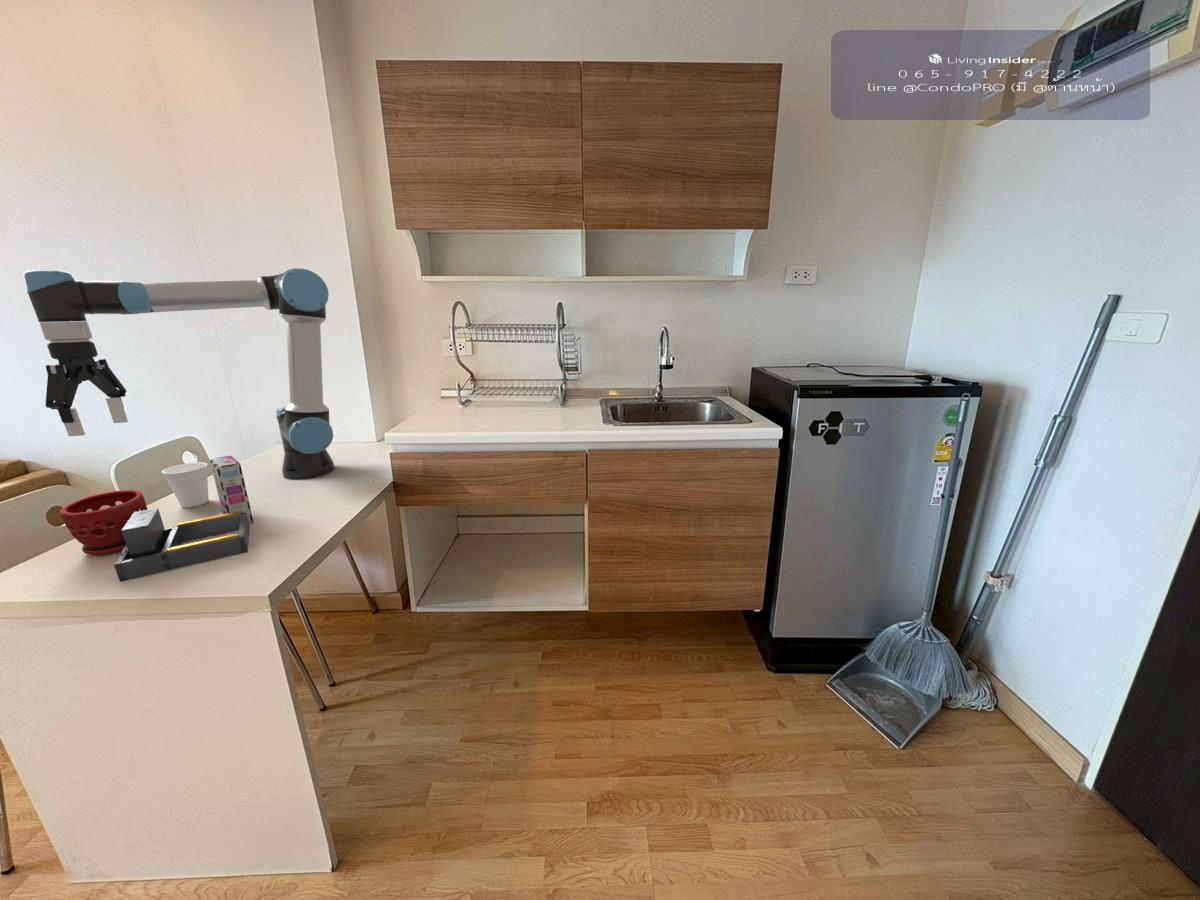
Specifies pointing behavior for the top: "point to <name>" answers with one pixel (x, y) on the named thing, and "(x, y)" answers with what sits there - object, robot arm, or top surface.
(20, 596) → the top surface
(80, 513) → the plant pot
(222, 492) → the candy bar box
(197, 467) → the cup
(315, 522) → the top surface
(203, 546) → the tray
